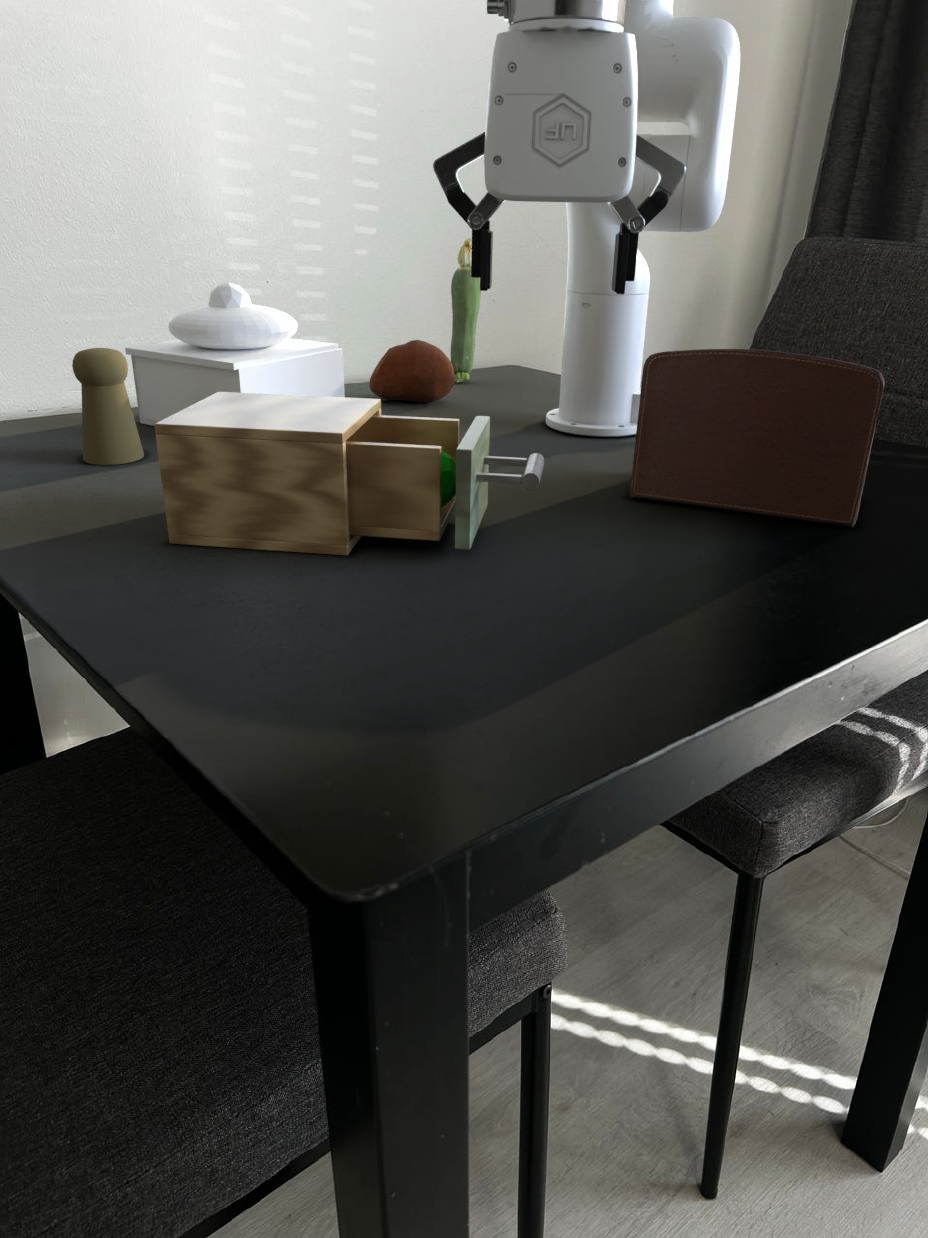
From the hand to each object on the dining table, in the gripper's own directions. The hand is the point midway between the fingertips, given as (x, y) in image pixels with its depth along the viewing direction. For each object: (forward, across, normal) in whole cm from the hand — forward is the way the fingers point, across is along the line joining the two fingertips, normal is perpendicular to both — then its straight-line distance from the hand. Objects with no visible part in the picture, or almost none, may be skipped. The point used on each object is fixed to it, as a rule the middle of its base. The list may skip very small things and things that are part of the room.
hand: (551, 290), depth 66 cm
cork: (+20, -44, +20) cm, 53 cm away
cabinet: (+19, -22, +2) cm, 29 cm away
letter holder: (+20, +19, +14) cm, 31 cm away
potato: (+19, -17, +54) cm, 59 cm away
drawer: (+18, -9, +1) cm, 21 cm away
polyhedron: (+16, -10, 0) cm, 19 cm away
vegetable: (+19, -11, +68) cm, 72 cm away
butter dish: (+19, -36, +39) cm, 57 cm away
